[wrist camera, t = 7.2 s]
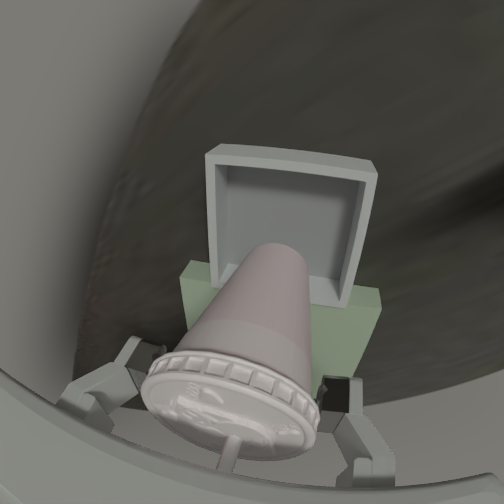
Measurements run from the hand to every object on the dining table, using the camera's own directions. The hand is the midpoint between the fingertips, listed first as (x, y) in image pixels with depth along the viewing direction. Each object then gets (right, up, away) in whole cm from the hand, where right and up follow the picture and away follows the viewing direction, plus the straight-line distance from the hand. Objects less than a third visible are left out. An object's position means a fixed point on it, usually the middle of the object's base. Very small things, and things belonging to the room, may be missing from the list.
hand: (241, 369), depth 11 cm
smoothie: (+2, +4, +6) cm, 7 cm away
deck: (+3, +1, +14) cm, 15 cm away
